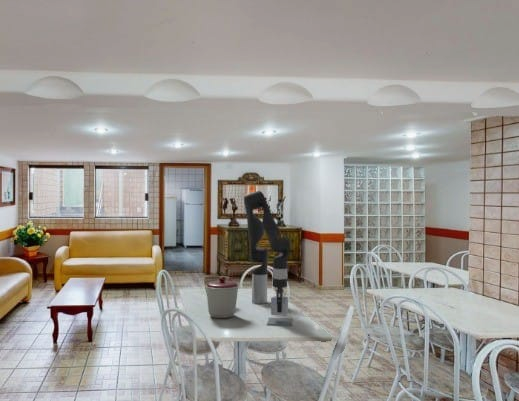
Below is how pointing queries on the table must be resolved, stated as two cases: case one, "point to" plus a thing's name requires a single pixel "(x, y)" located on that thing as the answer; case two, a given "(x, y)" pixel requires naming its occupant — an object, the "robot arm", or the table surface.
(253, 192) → the robot arm
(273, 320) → the rubber mat
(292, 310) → the table surface
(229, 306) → the canister
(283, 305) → the medicine box
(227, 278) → the plant pot
